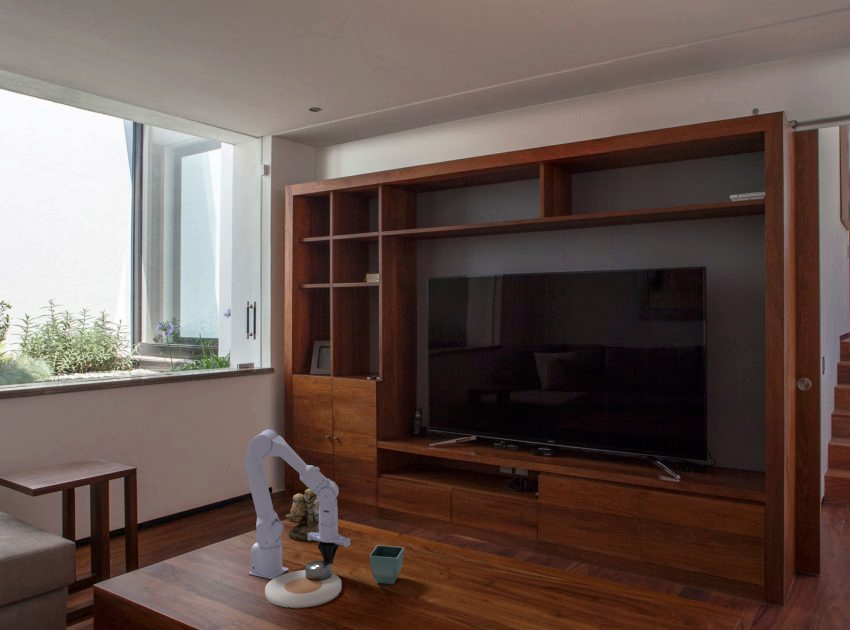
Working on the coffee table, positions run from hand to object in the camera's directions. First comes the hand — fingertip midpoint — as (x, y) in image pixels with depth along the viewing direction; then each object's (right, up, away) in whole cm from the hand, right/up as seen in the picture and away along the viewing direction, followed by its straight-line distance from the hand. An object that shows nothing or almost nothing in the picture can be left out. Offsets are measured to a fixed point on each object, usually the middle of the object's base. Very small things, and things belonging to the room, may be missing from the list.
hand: (329, 565), depth 205 cm
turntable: (-6, -3, -12) cm, 13 cm away
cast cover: (-2, -1, -5) cm, 6 cm away
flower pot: (+18, -3, -6) cm, 19 cm away
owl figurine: (-12, -2, +33) cm, 35 cm away
